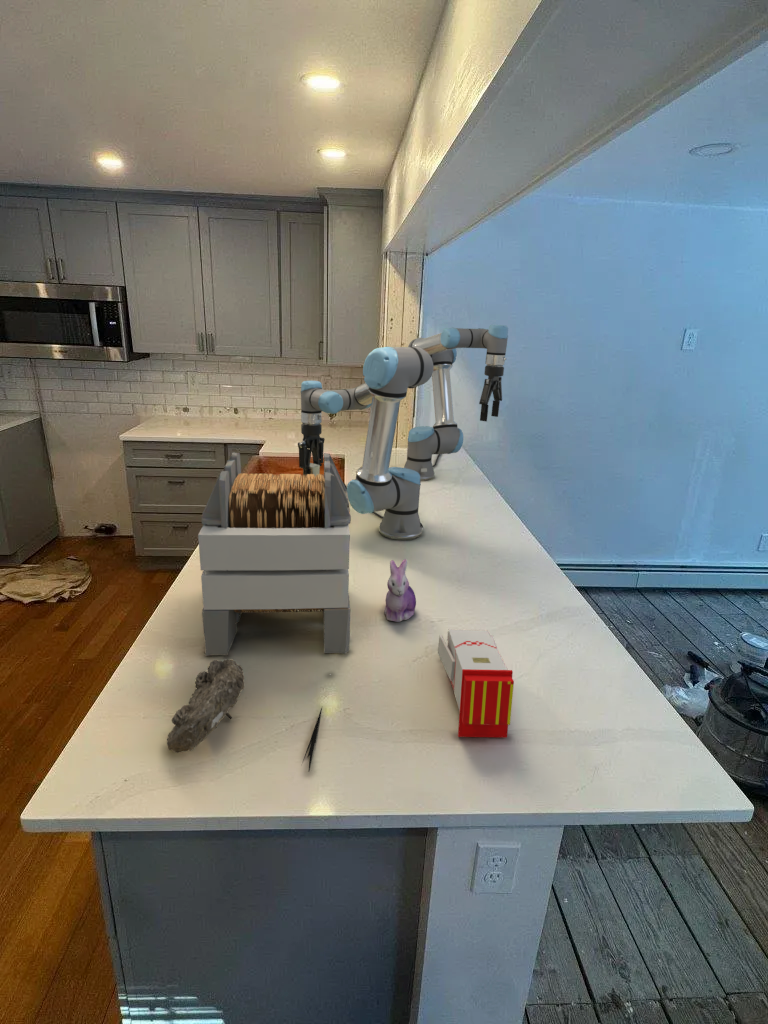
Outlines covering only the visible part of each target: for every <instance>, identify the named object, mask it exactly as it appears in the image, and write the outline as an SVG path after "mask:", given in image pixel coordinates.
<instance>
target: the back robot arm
mask: <svg viewBox="0 0 768 1024" xmlns="http://www.w3.org/2000/svg"><path fill="white" fill-rule="evenodd" d="M508 338H509V327H508V326H507V325H503V324H490V325H489V326H488V328H487V329H486V328H463V327H459V328H458V327H446V328H444V329H443V330H442V331H441V332H439V333H437V334H433V335H430V336H428V337H417V338H414V339H413V340H411V341H410V343H409V344H408V346H407V347H418V348H421V349H423V350H425V351H426V352H427V353H428V354H429V355H430V356H431V358H432V361H433V366H434V368H433V374H432V376H431V383H432V393H433V406H434V407H433V408H434V418H435V420H434V421H435V423H434V424H433V425H432V426H429V425H425V426H424V425H421V426H415V427H412V428H411V429H409V431H408V434H407V447H406V448H407V449H406V450H407V452H406V461H405V464H404V466H403V468H407V469H411V470H414V471H416V472H418V473H419V474H420V482H426V481H427V482H428V481H431V480H433V479H435V471H434V467H436V465H437V463H438V460H439V457H440V456H441V455H451V454H456V453H458V452H459V451H460V450H461V449H462V447H463V445H464V432H463V430H462V429H461V428H459V427H458V423H457V422H456V421H455V420H454V419H455V418H454V407H453V405H454V404H453V393H452V382H451V369H452V368H453V367H454V366H453V365H454V363H455V362H456V360H457V354H458V352H457V349H484V350H486V353H485V354H486V355H485V367H484V376H487V378H484V381H483V382H484V383H483V387H482V391H481V394H480V399H479V403H478V404H479V405H480V416H479V421H480V422H488V415H489V406H490V405H489V402H490V399H491V397H493V400H492V407H491V414H490V415H491V417H495V418H497V417H499V411H500V403H501V402H502V401H503V389H502V377H504V373H505V367H504V366H505V364H506V363H505V362H506V360H507V357H506V353H507V347H508V345H507V344H508ZM433 455H437V457H436V459H435V462H434V464H433V461H432V460H433V459H432V458H433Z"/></svg>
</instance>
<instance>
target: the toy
mask: <svg viewBox="0 0 768 1024" xmlns="http://www.w3.org/2000/svg"><path fill="white" fill-rule="evenodd" d="M446 640H447V643H446V641H445V639H444V636H443V635H442V634H439V637H438V646H437V656H438V657H439V659H440V661H441V663H442V666H443V668H444V670H445V672H446V674H447V677H448V679H449V681H450V684H451V687H452V690H453V693H454V697H455V701H456V705H457V708H458V711H459V714H458V715H459V716H458V730H457V731H458V732H457V737H458V738H508V731H509V726H510V725H511V717H512V707H513V697H514V696H513V695H514V684H515V680H514V679H513V673H514V671H513V670H512V669H508V667H507V665H506V662H505V661H504V659H503V658H502V655H501V653H500V651H499V649H498V647H497V643H496V639H495V637H494V635H493V634H491V632H490V631H489V629H467V628H466V629H465V628H463V629H461V628H460V629H459V628H448V630H447V639H446Z"/></svg>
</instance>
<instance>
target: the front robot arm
mask: <svg viewBox="0 0 768 1024" xmlns="http://www.w3.org/2000/svg"><path fill="white" fill-rule="evenodd" d="M433 368H434V366H433V361H432V358H431V356H430V355H429V354H428V353H427V352H426V351H425V350H423V349H421V348H418V347H408V346H384V347H383V346H382V347H376V348H374V349H373V350H371V351H370V352H369V353H368V354H367V356H366V358H365V360H364V363H363V367H362V376H363V377H364V378H363V380H364V382H363V383H361V384H359V385H358V386H355V387H353V388H344V389H323V383H322V382H321V381H319V380H303V381H302V382H301V384H300V422H301V424H300V430H301V431H300V433H301V435H302V436H303V437H302V441H301V442H298V443H297V447H298V467H299V469H302V476H303V477H304V475H305V477H306V475H307V474H311V469H309V466H310V463H311V459H312V463H313V464H317V465H320V467H322V466H323V464H324V443H325V437H321V435H322V429H323V427H322V425H323V424H321V423H322V412H323V413H325V414H329V415H330V414H332V415H335V414H338V413H339V412H344V411H354V410H359V411H360V410H365V409H369V408H370V411H369V417H368V425H367V426H368V427H367V431H366V438H365V444H364V451H363V457H362V466H361V467H359V468H358V469H357V470H356V475H355V479H351V480H350V481H349V482H348V483H347V485H346V483H345V482H344V481H343V480H342V482H343V484H344V486H345V488H346V490H347V495H348V502H349V505H350V506H351V508H352V509H353V510H354V511H355V512H356V513H357V514H361V515H365V514H372V515H375V516H376V517H378V518H380V519H381V522H379V526H378V533H379V534H380V535H381V536H382V537H385V538H387V539H389V540H395V541H410V540H415V539H418V538H420V537H421V536H422V535H423V529H424V526H423V524H422V523H421V518H420V515H419V507H420V506H419V505H420V504H419V503H420V496H421V495H420V494H421V481H420V474H419V473H418V472H416V471H414V470H411V469H407V468H404V467H401V466H400V467H399V466H391V467H390V463H391V457H392V452H393V446H394V439H395V434H396V430H397V429H396V428H397V422H398V417H399V411H400V406H401V405H400V404H401V401H402V400H403V399H405V398H406V397H407V394H408V389H411V390H412V389H415V388H417V387H420V386H422V385H424V384H426V383H427V382H428V381H430V379H432V374H433ZM380 511H384V513H383V515H381V514H379V513H378V512H380Z"/></svg>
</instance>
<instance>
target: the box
mask: <svg viewBox="0 0 768 1024" xmlns="http://www.w3.org/2000/svg"><path fill="white" fill-rule="evenodd" d="M309 469H311V474H315V478H316V474H317V475H318V474H319V475H320V474H321V472H320V471H321V470H320V469H321V466H320V465H317V464H314V463H313V462H310V466H309Z"/></svg>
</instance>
